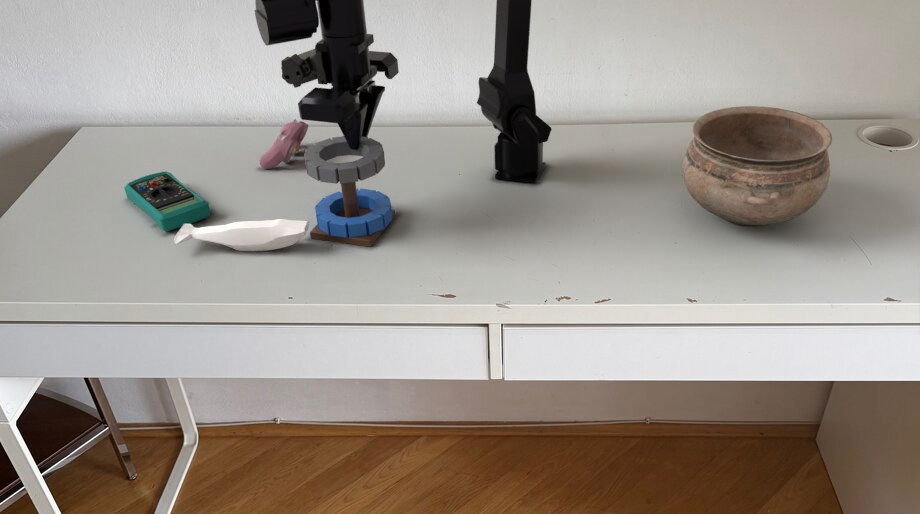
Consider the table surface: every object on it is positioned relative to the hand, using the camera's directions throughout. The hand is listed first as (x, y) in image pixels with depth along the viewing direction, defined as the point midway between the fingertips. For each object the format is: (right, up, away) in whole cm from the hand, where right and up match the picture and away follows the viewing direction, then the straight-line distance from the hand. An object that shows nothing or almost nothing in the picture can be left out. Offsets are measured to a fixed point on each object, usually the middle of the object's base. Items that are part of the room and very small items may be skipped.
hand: (358, 145), depth 120 cm
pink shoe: (-14, +3, +22) cm, 26 cm away
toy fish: (-15, -14, -1) cm, 21 cm away
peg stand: (-1, -11, +3) cm, 11 cm away
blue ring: (-1, -10, +3) cm, 10 cm away
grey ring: (-1, -3, -2) cm, 4 cm away
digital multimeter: (-29, -7, +9) cm, 31 cm away
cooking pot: (+54, -9, +2) cm, 55 cm away
